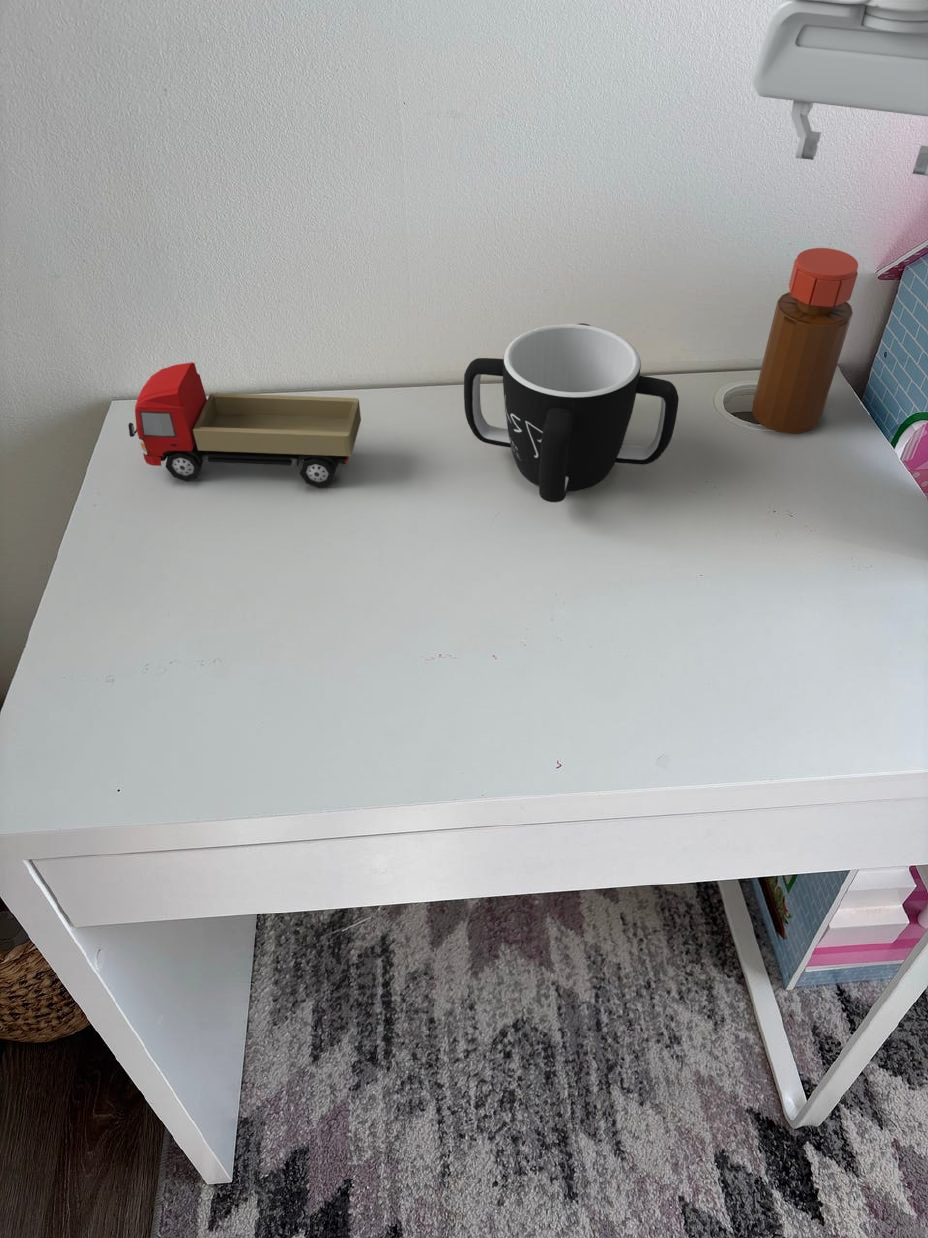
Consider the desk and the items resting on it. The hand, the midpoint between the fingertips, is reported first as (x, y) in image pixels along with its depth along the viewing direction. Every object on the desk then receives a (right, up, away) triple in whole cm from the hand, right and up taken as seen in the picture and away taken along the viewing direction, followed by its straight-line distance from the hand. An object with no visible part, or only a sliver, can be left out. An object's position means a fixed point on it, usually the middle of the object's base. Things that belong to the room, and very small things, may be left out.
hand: (862, 164), depth 81 cm
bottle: (0, -17, +19) cm, 25 cm away
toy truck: (-54, -23, +14) cm, 60 cm away
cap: (0, -8, +9) cm, 12 cm away
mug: (-24, -23, +13) cm, 36 cm away
